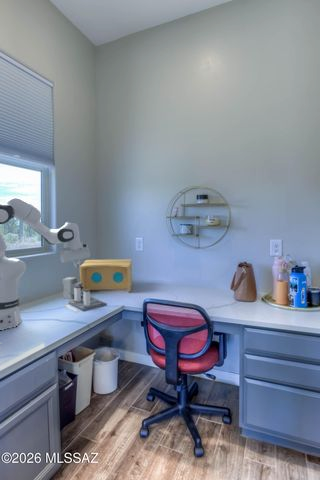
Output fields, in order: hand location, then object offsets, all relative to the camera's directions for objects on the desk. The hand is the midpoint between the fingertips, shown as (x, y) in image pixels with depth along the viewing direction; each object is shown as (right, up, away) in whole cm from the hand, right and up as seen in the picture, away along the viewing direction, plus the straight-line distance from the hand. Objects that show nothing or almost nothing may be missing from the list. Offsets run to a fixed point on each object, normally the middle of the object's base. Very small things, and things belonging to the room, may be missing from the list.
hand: (77, 266), depth 183 cm
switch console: (+2, -28, +10) cm, 30 cm away
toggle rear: (-4, -26, +13) cm, 30 cm away
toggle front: (+6, -27, +3) cm, 28 cm away
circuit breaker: (-11, -27, +29) cm, 41 cm away
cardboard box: (+10, -25, +52) cm, 58 cm away
